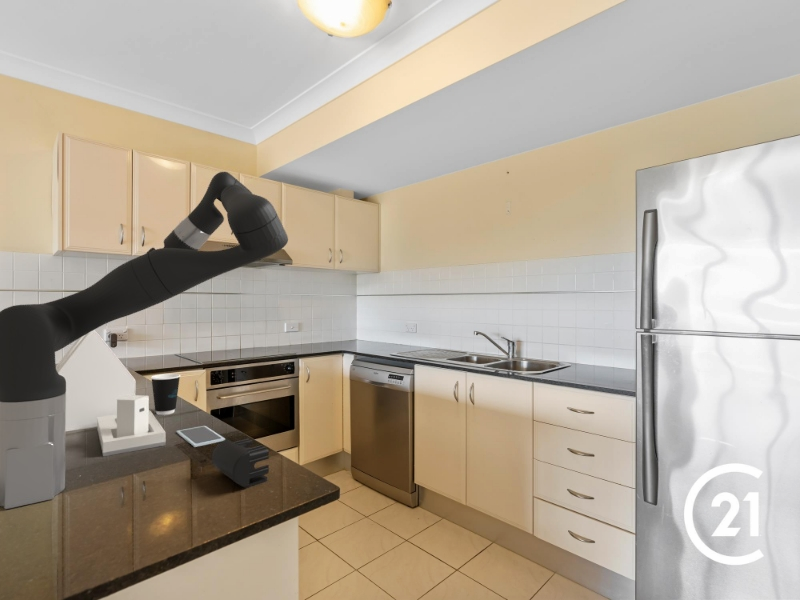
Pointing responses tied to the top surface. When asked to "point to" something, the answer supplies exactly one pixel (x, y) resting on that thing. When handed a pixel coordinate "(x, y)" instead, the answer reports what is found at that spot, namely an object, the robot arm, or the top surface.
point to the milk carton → (93, 381)
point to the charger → (132, 415)
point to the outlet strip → (128, 443)
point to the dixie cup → (165, 392)
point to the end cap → (241, 462)
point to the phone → (200, 436)
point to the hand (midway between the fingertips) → (146, 281)
